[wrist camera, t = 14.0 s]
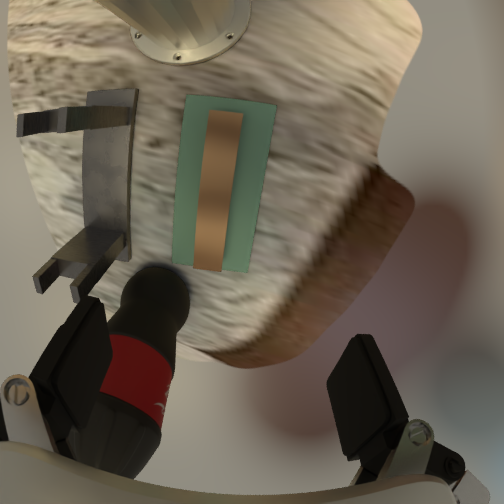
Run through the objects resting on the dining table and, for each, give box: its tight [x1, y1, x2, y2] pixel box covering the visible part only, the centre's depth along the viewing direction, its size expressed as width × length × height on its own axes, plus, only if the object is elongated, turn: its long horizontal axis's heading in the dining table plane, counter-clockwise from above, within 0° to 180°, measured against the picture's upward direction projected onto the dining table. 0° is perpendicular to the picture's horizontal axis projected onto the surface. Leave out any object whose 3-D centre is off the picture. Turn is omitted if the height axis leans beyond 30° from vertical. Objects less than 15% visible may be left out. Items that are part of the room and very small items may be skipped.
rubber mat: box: [172, 95, 277, 273], centre depth 28 cm, size 19×9×1 cm, turn 171°
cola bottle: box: [68, 267, 190, 479], centre depth 21 cm, size 8×8×30 cm
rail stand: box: [17, 89, 139, 303], centre depth 22 cm, size 20×6×12 cm, turn 171°
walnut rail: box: [193, 110, 243, 272], centre depth 27 cm, size 16×3×3 cm, turn 171°
